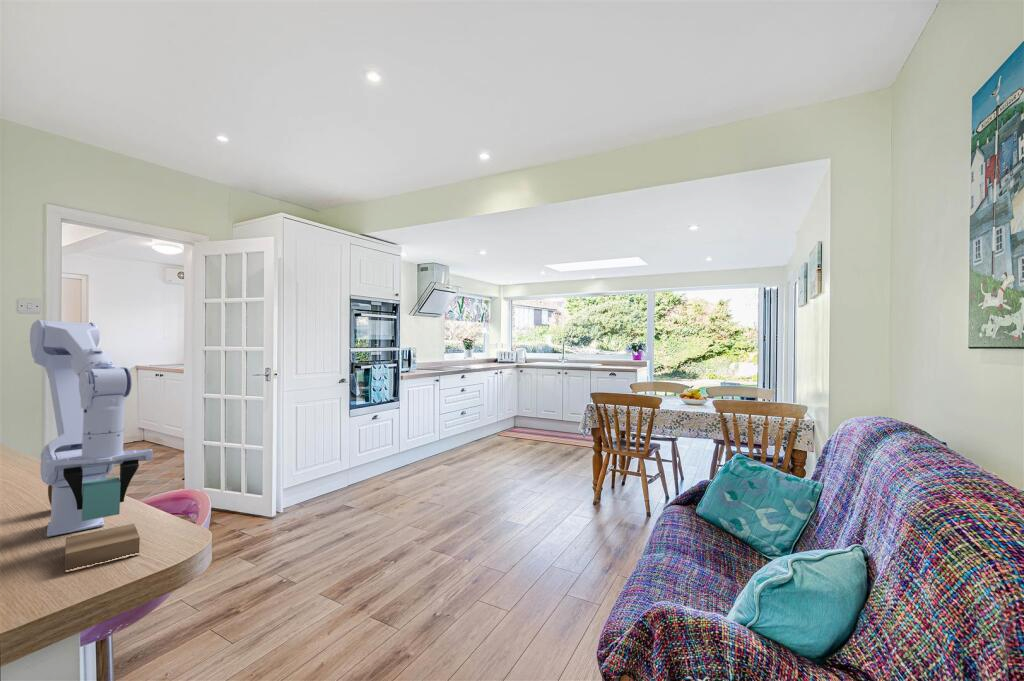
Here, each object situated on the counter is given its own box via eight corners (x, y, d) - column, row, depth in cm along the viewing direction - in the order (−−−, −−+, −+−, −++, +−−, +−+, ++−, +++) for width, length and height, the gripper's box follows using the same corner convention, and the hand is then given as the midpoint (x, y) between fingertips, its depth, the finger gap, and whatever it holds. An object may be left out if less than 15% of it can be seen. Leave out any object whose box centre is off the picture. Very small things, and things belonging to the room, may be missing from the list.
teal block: (81, 514, 82) (82, 481, 82) (117, 507, 86) (118, 476, 86) (82, 521, 79) (83, 487, 79) (119, 514, 82) (120, 482, 82)
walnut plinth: (65, 555, 76) (65, 537, 76) (133, 539, 82) (134, 523, 82) (64, 573, 69) (65, 553, 69) (139, 555, 76) (139, 537, 76)
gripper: (47, 439, 75) (43, 520, 74) (155, 430, 85) (153, 500, 85) (48, 434, 80) (45, 509, 79) (150, 425, 90) (148, 492, 90)
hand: (100, 504), depth 82 cm, fingers closed on teal block, 5 cm apart
